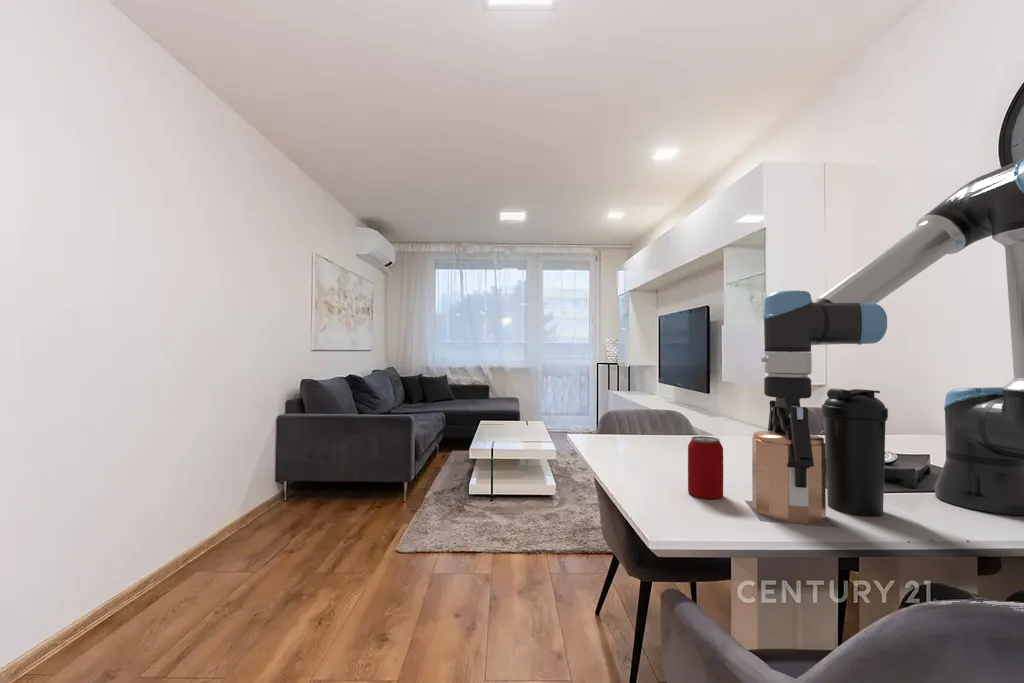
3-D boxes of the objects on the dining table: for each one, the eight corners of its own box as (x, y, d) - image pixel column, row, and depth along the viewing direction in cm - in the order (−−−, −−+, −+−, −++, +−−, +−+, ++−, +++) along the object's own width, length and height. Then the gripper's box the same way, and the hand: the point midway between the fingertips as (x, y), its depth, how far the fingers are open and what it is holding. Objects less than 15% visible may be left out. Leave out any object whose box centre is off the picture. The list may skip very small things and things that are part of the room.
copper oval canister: (811, 506, 92) (810, 432, 92) (835, 526, 81) (834, 442, 81) (747, 501, 94) (747, 429, 95) (762, 520, 84) (762, 439, 84)
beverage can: (717, 493, 102) (717, 436, 102) (728, 503, 95) (728, 442, 95) (684, 492, 102) (684, 435, 103) (692, 501, 95) (692, 441, 96)
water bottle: (904, 520, 86) (902, 391, 86) (849, 521, 85) (848, 391, 85) (859, 503, 96) (858, 387, 96) (810, 503, 95) (809, 387, 96)
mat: (812, 508, 92) (812, 505, 92) (838, 530, 80) (839, 527, 80) (744, 503, 95) (744, 500, 95) (760, 523, 83) (760, 520, 83)
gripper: (749, 373, 101) (750, 478, 100) (784, 378, 78) (784, 514, 77) (789, 373, 99) (790, 480, 98) (836, 379, 76) (837, 518, 75)
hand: (787, 495), depth 88 cm, fingers closed on copper oval canister, 11 cm apart
